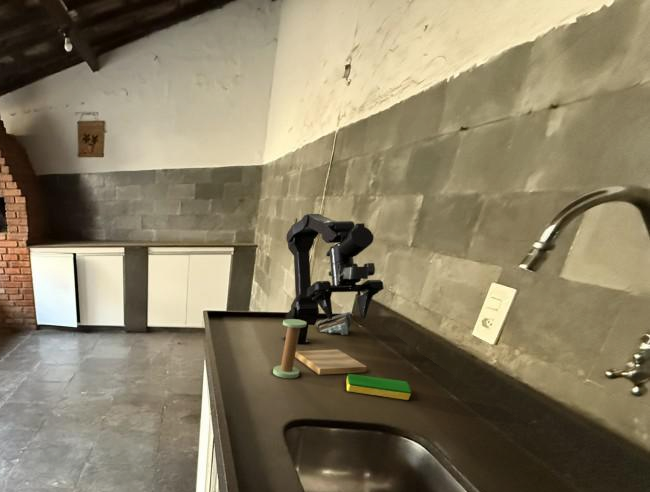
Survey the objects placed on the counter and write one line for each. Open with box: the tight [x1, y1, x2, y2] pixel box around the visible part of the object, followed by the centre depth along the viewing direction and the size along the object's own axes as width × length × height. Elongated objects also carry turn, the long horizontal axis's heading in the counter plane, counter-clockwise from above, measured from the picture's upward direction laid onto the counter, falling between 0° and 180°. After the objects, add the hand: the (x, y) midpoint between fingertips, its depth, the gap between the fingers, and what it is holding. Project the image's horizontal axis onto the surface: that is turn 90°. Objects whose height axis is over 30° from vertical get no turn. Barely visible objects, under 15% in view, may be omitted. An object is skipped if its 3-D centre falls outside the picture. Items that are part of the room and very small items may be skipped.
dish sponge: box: [345, 373, 412, 401], centre depth 109 cm, size 7×14×2 cm, turn 65°
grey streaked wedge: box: [315, 311, 353, 336], centre depth 154 cm, size 10×7×12 cm
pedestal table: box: [272, 319, 307, 379], centre depth 117 cm, size 7×7×15 cm
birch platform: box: [295, 349, 368, 376], centre depth 126 cm, size 15×14×2 cm
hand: (347, 318), depth 115 cm, fingers open, 9 cm apart
